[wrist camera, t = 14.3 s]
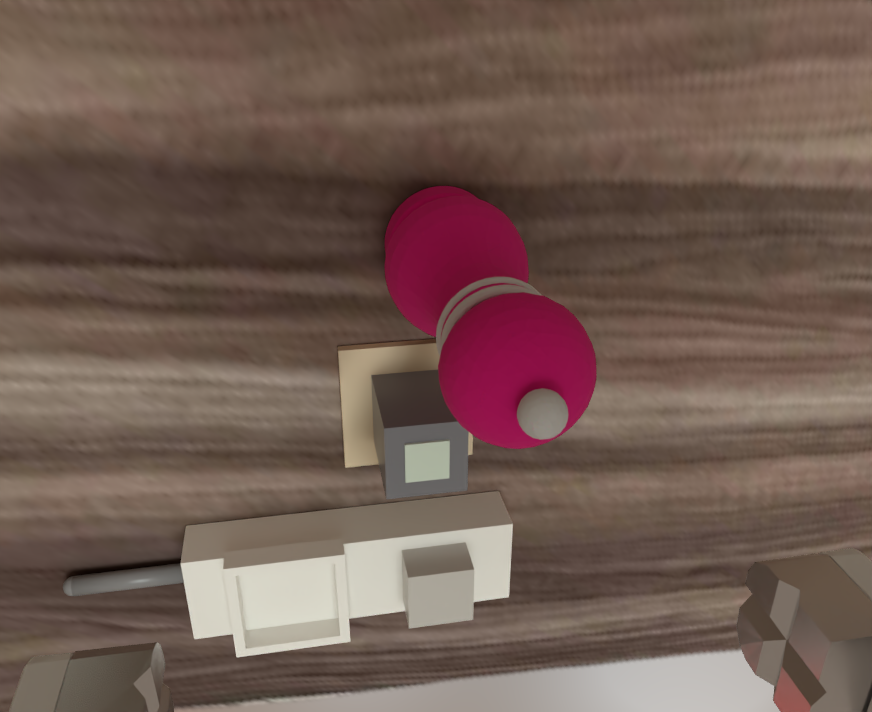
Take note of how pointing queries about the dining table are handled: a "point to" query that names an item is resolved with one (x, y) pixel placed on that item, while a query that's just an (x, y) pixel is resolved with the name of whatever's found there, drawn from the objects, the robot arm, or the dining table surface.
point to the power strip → (332, 570)
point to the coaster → (358, 389)
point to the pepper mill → (487, 319)
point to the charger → (417, 436)
